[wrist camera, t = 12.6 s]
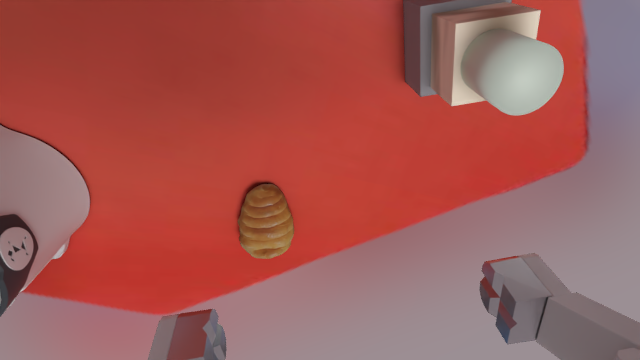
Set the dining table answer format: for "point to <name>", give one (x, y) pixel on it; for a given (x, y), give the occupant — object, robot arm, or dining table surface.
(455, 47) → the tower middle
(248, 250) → the pastry
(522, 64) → the grey round cylinder
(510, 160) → the dining table surface
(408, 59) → the tower base
